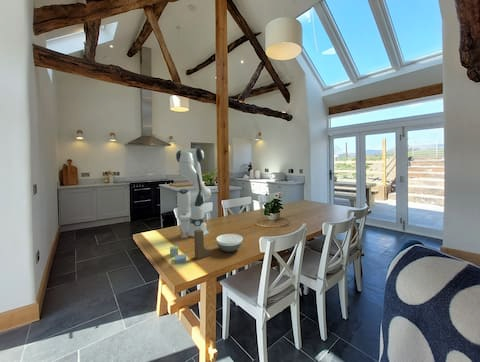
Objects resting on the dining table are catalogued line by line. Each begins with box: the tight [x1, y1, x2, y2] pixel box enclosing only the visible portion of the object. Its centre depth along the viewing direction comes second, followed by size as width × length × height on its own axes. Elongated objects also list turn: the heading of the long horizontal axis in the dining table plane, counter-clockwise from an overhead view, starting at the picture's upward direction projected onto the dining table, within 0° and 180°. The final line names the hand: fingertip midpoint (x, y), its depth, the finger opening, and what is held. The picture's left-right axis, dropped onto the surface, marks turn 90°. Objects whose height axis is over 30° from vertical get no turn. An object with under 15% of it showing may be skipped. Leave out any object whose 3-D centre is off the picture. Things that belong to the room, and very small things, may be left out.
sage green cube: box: [169, 245, 179, 258], centre depth 152 cm, size 5×5×5 cm
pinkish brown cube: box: [180, 229, 190, 239], centre depth 153 cm, size 5×5×5 cm
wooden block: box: [193, 229, 211, 260], centre depth 148 cm, size 9×4×18 cm, turn 130°
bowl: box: [215, 233, 244, 253], centre depth 160 cm, size 19×19×8 cm
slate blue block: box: [174, 253, 187, 265], centre depth 143 cm, size 7×7×2 cm
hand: (184, 233), depth 153 cm, fingers closed on pinkish brown cube, 5 cm apart
